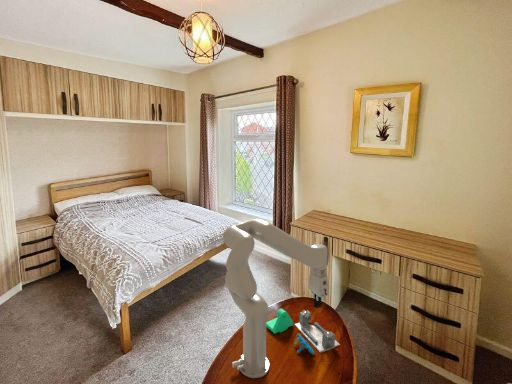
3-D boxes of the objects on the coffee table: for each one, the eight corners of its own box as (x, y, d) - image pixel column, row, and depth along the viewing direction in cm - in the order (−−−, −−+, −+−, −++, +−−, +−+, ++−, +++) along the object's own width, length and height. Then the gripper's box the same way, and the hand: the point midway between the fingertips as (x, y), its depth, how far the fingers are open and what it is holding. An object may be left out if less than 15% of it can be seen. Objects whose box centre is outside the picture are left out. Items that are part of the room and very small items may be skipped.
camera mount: (283, 319, 141) (283, 301, 140) (293, 326, 135) (293, 308, 134) (265, 327, 135) (265, 308, 133) (274, 335, 128) (274, 316, 127)
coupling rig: (320, 352, 117) (320, 338, 116) (294, 325, 136) (294, 312, 135) (339, 345, 121) (340, 331, 120) (312, 320, 140) (312, 307, 139)
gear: (319, 355, 114) (305, 343, 111) (310, 366, 113) (295, 354, 110) (307, 339, 124) (294, 327, 121) (298, 348, 124) (285, 337, 121)
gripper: (335, 275, 119) (334, 313, 122) (315, 263, 133) (314, 297, 135) (321, 278, 116) (320, 317, 119) (302, 266, 130) (302, 300, 132)
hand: (317, 306), depth 127 cm, fingers closed
